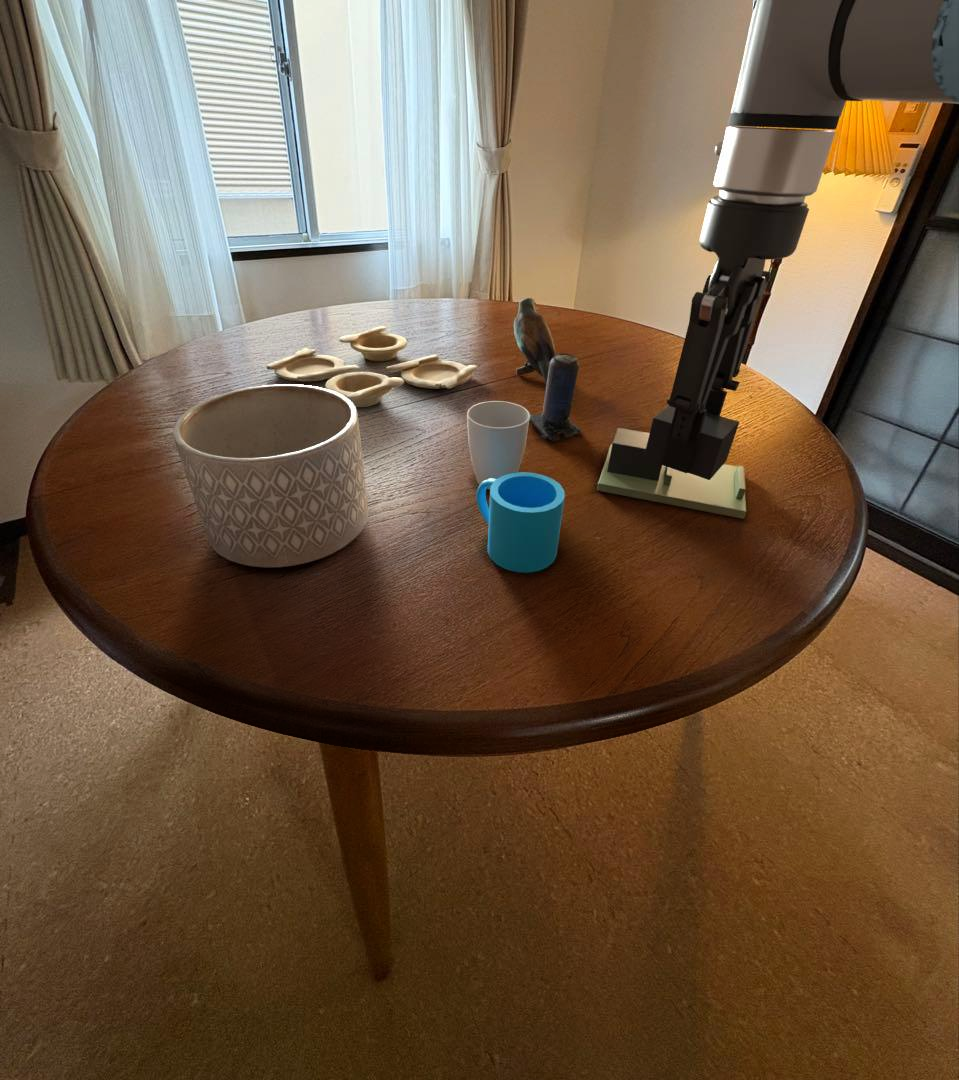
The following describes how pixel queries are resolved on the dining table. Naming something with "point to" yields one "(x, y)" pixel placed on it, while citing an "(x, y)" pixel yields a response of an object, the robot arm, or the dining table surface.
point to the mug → (522, 520)
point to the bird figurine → (533, 339)
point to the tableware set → (367, 384)
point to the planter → (275, 473)
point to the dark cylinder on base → (558, 398)
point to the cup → (496, 438)
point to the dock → (669, 479)
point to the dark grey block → (709, 446)
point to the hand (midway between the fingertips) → (685, 456)
